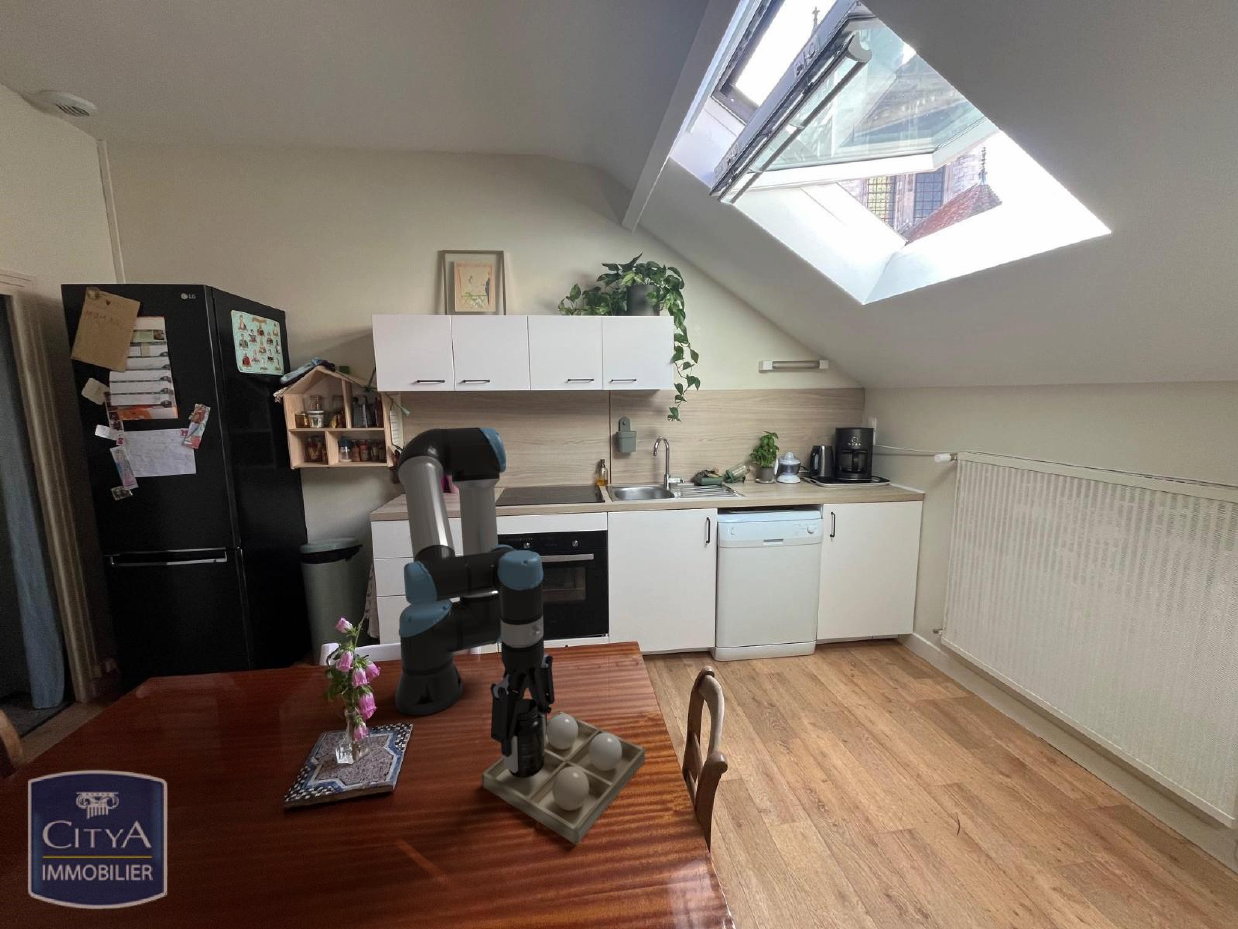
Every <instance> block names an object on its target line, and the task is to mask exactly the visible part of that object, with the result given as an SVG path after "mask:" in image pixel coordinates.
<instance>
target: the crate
mask: <svg viewBox="0 0 1238 929" xmlns="http://www.w3.org/2000/svg"><path fill="white" fill-rule="evenodd" d="M559 714H567V713H565V712H563V711H561V710H558V711H557V712H556V713H554V714H553V715H552V716H550V717H549V718H547V725H546V746H545V747H544V754H545V762H544V766H543V768H542V769H541V771H540V772H539V773H537V774H536V775H534V776H532V777H529V778H517V777H515V776H513V775H512V774H511V773H510V772H509V770H508V769H507V768H505V767H504V755H502V756H501V757H500V758H499V759H498V760H497V761H495V762H494V763H493V764H492V765H490V766H489V767H488V768H487V769H486V770H485V771H483V772H482V773H481V784H482V785H481V786H482V787H483V788H484V789H486V790H487V791H489V792H490V793H492V794H494V795H495V796H497V797H498V798H500V799H502V800H504V802H506V803H508V804H510V805H512V806H513V807H515V808H516V809H517V810H520V811H521V812H522V813H523V814H526V815H527V816H528V817H531V818H532V819H533V820H535V821H536V822H539V823H541V824H542V825H543V826H545V827H547V828H548V829H549V830H552V831H553V832H555V833H556V834H558V835H560V836H561V837H563V839H566V840H568V841H569V842H571V843H572V844H574V845H575V846H578V844H579V843H580V841H581V840H582V839H584V837H585V836H586V834H587V833H588V832H589V831H590V829H591V828H592V827H593V826H594V824H595V823H596V822H597V821H598V819H599V818H600V817H601V816H602V815H603V813H604V812H605V811H606V810H607V808H608V807H609V806H610V805H611V804H612V802H613V801H614V800H615V799H616V798H617V797H618V795H619V794H620V792H622V790H623V789H624V787H625V786H626V785H627V784H628V782H630V780H631V779H632V778H633V777H634V775H635V774H636V773H637V772H638V771H639V769H640V768H641V767H642V766H643V764H644V763H645V762H646V748H644V747H642V746H640V745H637V744H635V743H634V742H633V743H632V742H631V741H629V740H627V739H624V738H622V737H620V736H617V735H616V734H613V735H614V736H616V737H617V739H618V740H619V742H620V744H621V747H622V757H621V760H620V762H619V764H618V765H617V766H616V767H615V768H614V769H612V770H610V771H600V770H598V769H596V768H595V767H594V766H593V765H592V763H591V761H590V758H589V746H590V744H591V742H592V740H593V739H594V738H595V737H596V736H597V735H599V734H601V733H610V734H612V733H611V732H608V731H607V730H604V729H601V728H599V727H597V726H594V725H592V724H590V723H589V722H586V721H583V720H581V719H579V718H577V717H575V716H572V717H573V718H574V719H575V721H576V722H577V725H578V736H577V739H576V741H575V743H574V744H573V745H572V746H571V747H569V748H567V749H563V750H560V749H556V748H554V747H553V746H552V745H551V744H550V743H549V741H548V738H547V727H548V724H549V722H550V721H551V719H552V718H554V717H555V716H556V715H559ZM566 767H577V768H579V769H581V770H582V771H583V772H584V773H585V775H586V776H587V778H588V782H589V793H588V797H587V799H586V801H585V802H584V804H583V805H582V806H581V807H579V808H578V809H576V810H573V811H567V810H564V809H562V808H560V807H559V806H558V805H557V804H556V802H555V800H554V798H553V794H552V786H553V782H554V779H555V777H556V775H557V774H558V773H559V772H560V771H561V770H562V769H564V768H566Z"/></svg>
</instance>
